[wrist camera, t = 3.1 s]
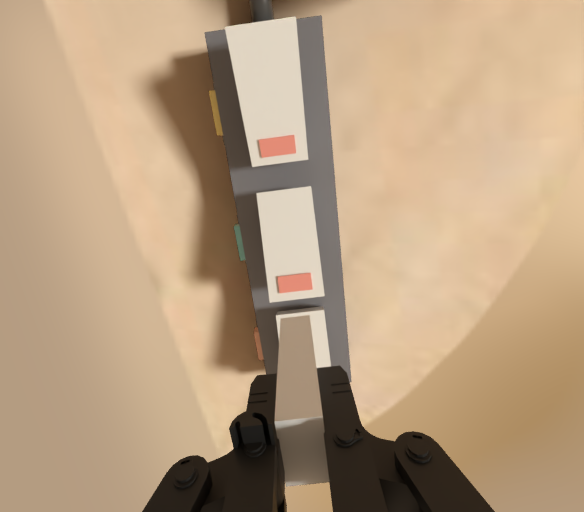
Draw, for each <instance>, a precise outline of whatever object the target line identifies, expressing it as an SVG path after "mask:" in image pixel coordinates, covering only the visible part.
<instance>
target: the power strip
mask: <svg viewBox="0 0 584 512" xmlns="http://www.w3.org/2000/svg"><path fill="white" fill-rule="evenodd" d="M249 3H250V10H251V18H252V23H254V22H261V21H268V20H274V16H273V8H272V0H249ZM296 23H297V34H298V46H299V57H300V69H301V81H302V92H303V104H304V115H305V127H306V138H307V150H308V160H302V161H294V162H286V163H279V164H271V165H264V166H256V167H252V163H251V158H250V153H249V148H248V143H247V138H246V133H245V128H244V123H243V118H242V113H241V108H240V103H239V97H238V92H237V87H236V82H235V77H234V72H233V67H232V62H231V57H230V52H229V47H228V42H227V36H226V31H225V30H218V31H211V32H205V38H206V43H207V49H208V54H209V60H210V65H211V71H212V76H213V82H214V83H213V86H214V90H211V91H209V96H210V101H211V107H212V112H213V118H214V123H215V128H216V134H217V135H218V136H223V141H224V145H225V148H226V154H227V159H228V165H229V170H230V176H231V181H232V187H233V192H234V198H235V203H236V209H237V218H238V223H239V224H235V225H234V230H235V235H236V241H237V246H238V251H239V257H240V261H242V260H245V262H246V264H247V270H248V275H249V281H250V286H251V292H252V297H253V303H254V308H255V314H256V323H257V327H255V329H254V337H255V342H256V348H257V353H258V358H259V360H264V364H265V369H266V374H275V373H277V370H278V353H279V338H278V330H277V321H276V314H277V312H279V311H287V310H296V309H304V308H313V307H321V306H323V308H324V313H325V321H326V329H327V337H328V345H329V353H330V361H331V366H339V365H340V366H341V367H342V368H343V369H344V370H345V371H346V372H347V375H348V379H349V382H351V371H350V359H349V347H348V334H347V322H346V310H345V298H344V285H343V273H342V261H341V249H340V237H339V224H338V212H337V200H336V188H335V175H334V163H333V151H332V139H331V126H330V114H329V102H328V90H327V77H326V65H325V53H324V41H323V28H322V16H314V17H307V18H300V19H296ZM308 186H311V189H312V197H313V205H314V213H315V221H316V230H317V238H318V246H319V254H320V262H321V270H322V278H323V286H324V294H325V296H322V297H314V298H305V299H297V300H288V301H280V302H271V303H270V301H269V293H268V285H267V277H266V268H265V260H264V252H263V244H262V235H261V227H260V219H259V211H258V203H257V194H256V193H261V192H269V191H277V190H285V189H292V188H300V187H308Z"/></svg>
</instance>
